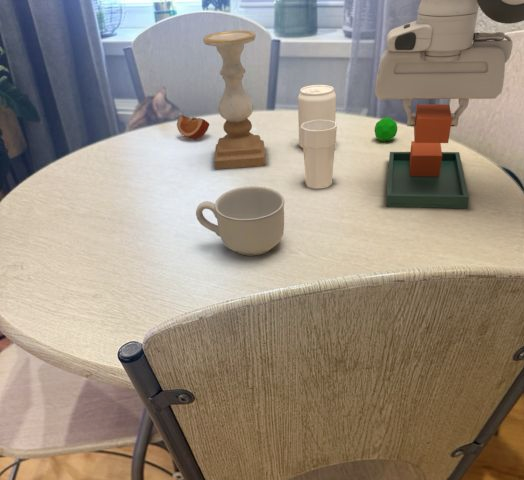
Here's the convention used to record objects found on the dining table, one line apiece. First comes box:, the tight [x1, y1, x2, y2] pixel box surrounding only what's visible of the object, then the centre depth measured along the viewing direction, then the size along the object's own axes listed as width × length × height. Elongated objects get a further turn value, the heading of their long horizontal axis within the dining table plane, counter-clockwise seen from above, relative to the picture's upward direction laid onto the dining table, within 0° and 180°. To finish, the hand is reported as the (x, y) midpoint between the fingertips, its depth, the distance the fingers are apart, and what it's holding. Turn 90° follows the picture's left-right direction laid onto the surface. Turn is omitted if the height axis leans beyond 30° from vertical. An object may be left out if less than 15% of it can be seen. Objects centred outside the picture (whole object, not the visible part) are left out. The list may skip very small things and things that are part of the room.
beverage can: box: [297, 84, 337, 149], centre depth 117 cm, size 8×8×12 cm
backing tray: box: [385, 151, 470, 209], centre depth 101 cm, size 14×22×2 cm, turn 168°
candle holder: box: [202, 30, 267, 170], centre depth 110 cm, size 11×11×24 cm
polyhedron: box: [374, 116, 398, 142], centre depth 119 cm, size 5×5×5 cm
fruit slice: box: [176, 114, 210, 140], centre depth 130 cm, size 8×7×5 cm
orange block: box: [413, 103, 452, 144], centre depth 92 cm, size 6×8×4 cm
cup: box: [301, 120, 338, 190], centre depth 101 cm, size 7×7×11 cm
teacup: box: [195, 185, 285, 257], centre depth 84 cm, size 14×11×8 cm
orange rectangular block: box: [409, 140, 443, 177], centre depth 104 cm, size 6×8×4 cm
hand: (431, 125), depth 92 cm, fingers closed on orange block, 5 cm apart
